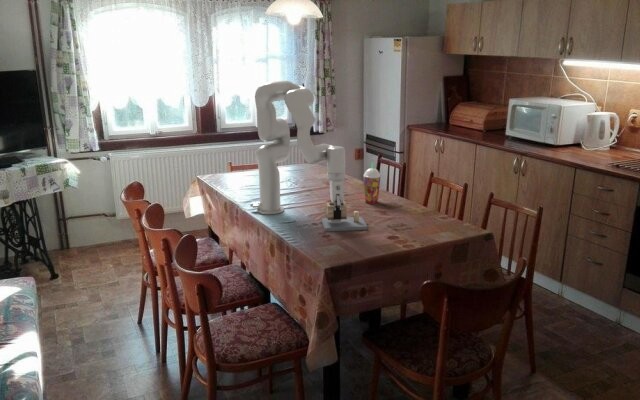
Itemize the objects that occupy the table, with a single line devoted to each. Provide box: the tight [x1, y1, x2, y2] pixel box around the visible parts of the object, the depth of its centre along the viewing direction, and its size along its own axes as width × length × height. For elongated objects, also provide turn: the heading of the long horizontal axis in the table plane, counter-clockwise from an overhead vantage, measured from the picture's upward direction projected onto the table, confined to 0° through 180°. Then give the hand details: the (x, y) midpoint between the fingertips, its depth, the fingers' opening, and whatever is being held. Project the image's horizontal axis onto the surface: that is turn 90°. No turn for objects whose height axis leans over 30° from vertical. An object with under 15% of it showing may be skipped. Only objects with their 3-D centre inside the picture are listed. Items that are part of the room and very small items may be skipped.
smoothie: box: [363, 162, 381, 205], centre depth 263 cm, size 8×8×20 cm
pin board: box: [320, 210, 368, 232], centre depth 232 cm, size 18×13×6 cm
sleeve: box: [325, 201, 348, 220], centre depth 230 cm, size 6×8×6 cm
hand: (336, 216), depth 231 cm, fingers closed on sleeve, 6 cm apart
